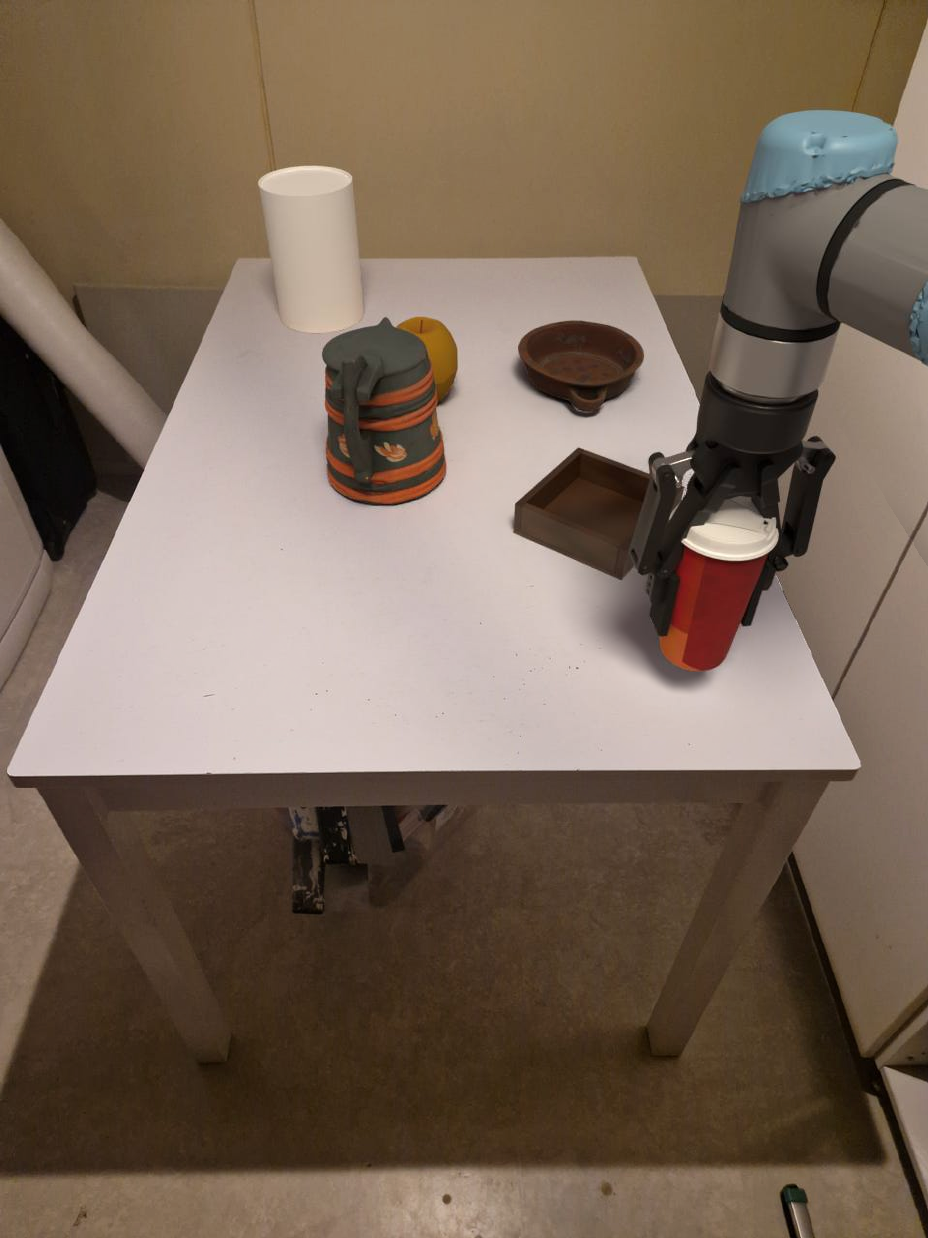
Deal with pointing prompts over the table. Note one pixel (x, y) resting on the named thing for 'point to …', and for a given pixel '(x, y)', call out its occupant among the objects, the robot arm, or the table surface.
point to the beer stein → (381, 416)
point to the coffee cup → (717, 583)
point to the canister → (313, 247)
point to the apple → (436, 350)
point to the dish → (580, 361)
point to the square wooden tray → (587, 510)
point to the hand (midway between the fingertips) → (699, 620)
